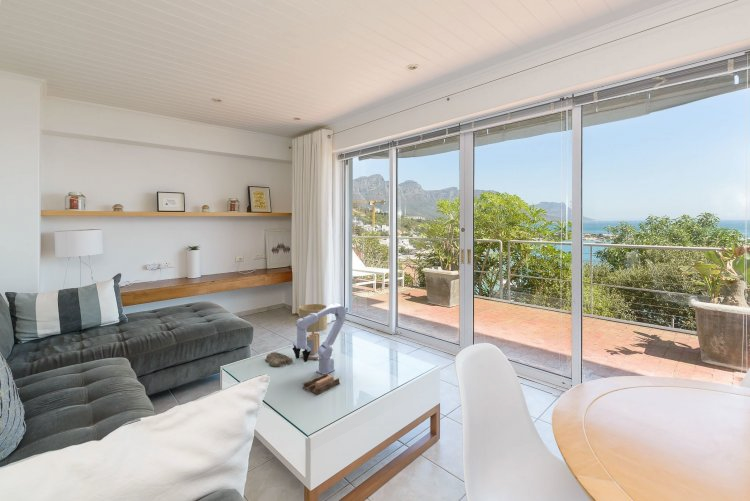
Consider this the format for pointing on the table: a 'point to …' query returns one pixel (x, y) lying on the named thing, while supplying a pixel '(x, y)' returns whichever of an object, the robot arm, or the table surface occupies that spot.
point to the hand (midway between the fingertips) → (301, 360)
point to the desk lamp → (313, 327)
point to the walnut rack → (311, 386)
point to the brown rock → (278, 359)
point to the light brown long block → (324, 381)
